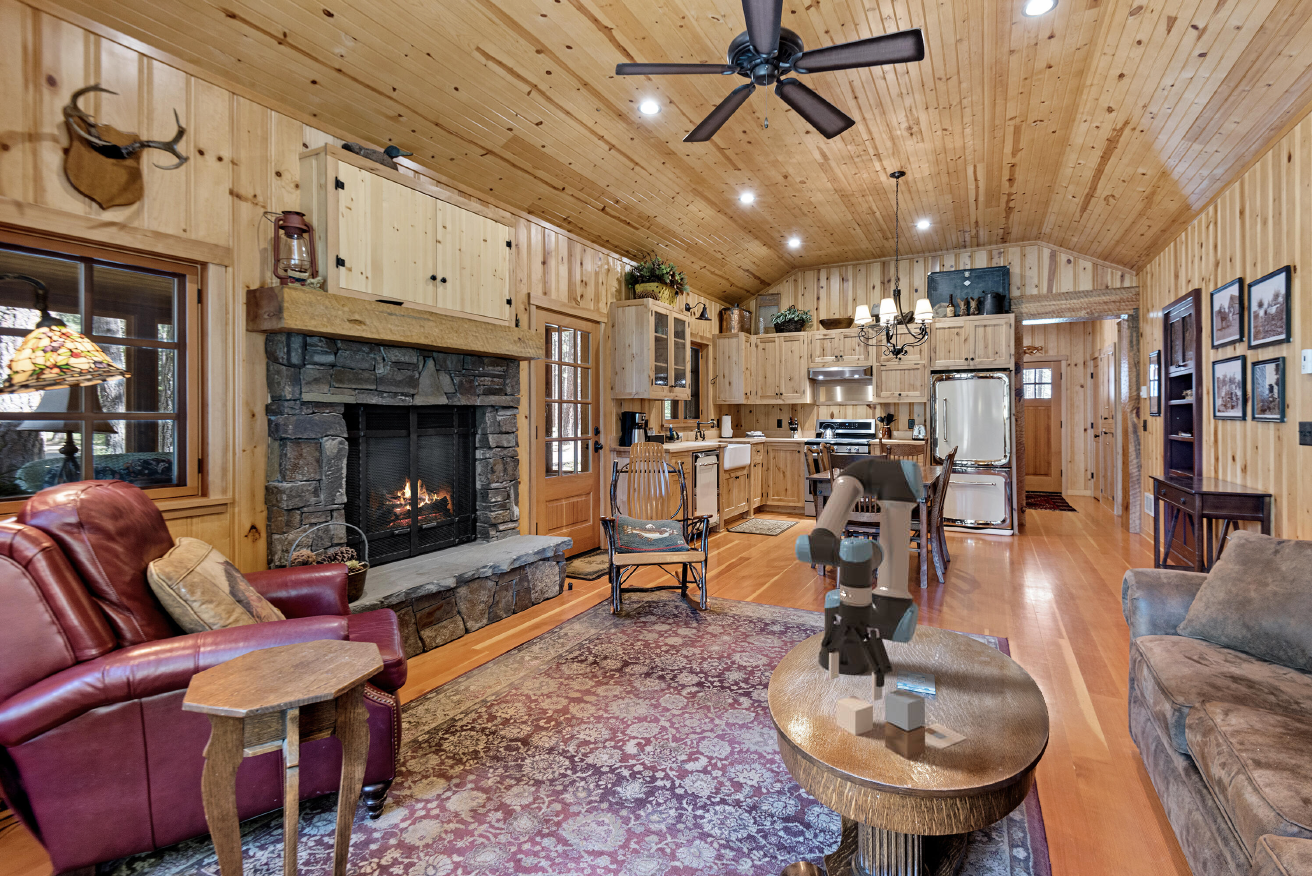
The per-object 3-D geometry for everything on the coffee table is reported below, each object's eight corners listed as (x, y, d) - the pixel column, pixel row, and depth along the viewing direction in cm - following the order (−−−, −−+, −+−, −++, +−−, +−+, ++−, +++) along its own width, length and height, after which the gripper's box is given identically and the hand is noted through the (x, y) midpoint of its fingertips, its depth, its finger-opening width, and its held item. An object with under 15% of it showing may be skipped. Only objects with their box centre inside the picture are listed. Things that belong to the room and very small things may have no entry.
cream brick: (836, 724, 148) (836, 700, 148) (853, 719, 151) (854, 695, 151) (855, 735, 143) (855, 711, 142) (872, 729, 145) (872, 705, 145)
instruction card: (910, 734, 143) (910, 732, 143) (936, 723, 148) (936, 722, 148) (940, 749, 136) (940, 748, 136) (967, 738, 141) (967, 737, 141)
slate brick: (885, 720, 137) (885, 694, 137) (902, 714, 140) (902, 688, 140) (907, 731, 132) (907, 703, 132) (924, 724, 135) (924, 698, 135)
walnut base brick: (885, 747, 137) (885, 719, 137) (902, 740, 140) (902, 713, 140) (907, 760, 132) (907, 731, 132) (924, 753, 135) (925, 724, 135)
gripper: (807, 591, 155) (807, 673, 155) (886, 618, 133) (885, 712, 133) (829, 588, 159) (828, 667, 159) (909, 613, 137) (908, 705, 137)
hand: (854, 688), depth 146 cm, fingers open, 13 cm apart
